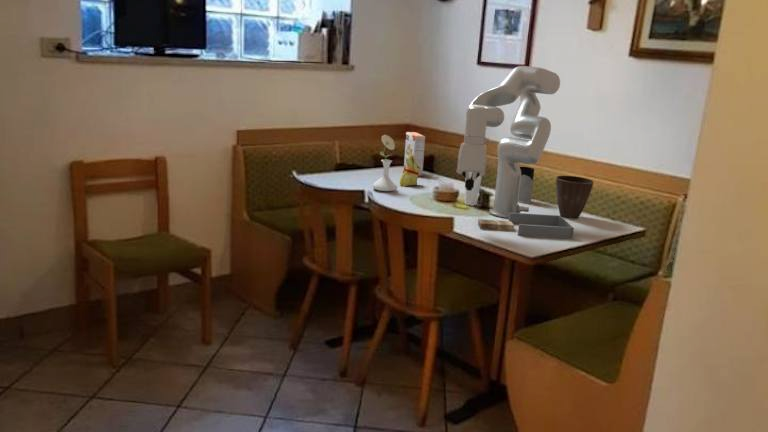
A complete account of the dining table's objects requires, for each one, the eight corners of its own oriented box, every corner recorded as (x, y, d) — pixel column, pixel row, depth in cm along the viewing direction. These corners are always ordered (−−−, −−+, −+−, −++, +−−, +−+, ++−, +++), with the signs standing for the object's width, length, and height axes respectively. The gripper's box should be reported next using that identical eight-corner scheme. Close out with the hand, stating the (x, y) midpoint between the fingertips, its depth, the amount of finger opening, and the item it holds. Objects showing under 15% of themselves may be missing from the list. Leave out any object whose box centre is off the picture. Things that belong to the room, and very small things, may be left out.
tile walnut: (493, 226, 254) (494, 220, 254) (496, 230, 248) (496, 224, 248) (477, 225, 254) (478, 219, 253) (480, 229, 248) (480, 223, 248)
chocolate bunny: (421, 185, 318) (424, 154, 315) (403, 187, 312) (405, 155, 309) (413, 182, 324) (415, 152, 320) (395, 184, 318) (397, 153, 314)
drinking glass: (477, 203, 289) (480, 169, 286) (479, 206, 283) (483, 172, 279) (461, 202, 289) (465, 168, 285) (463, 206, 283) (467, 171, 279)
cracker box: (402, 171, 352) (405, 131, 347) (413, 171, 354) (416, 131, 349) (411, 176, 339) (414, 135, 334) (422, 176, 341) (426, 135, 336)
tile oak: (510, 227, 255) (510, 221, 254) (513, 231, 249) (514, 225, 248) (494, 226, 254) (495, 220, 254) (497, 230, 248) (498, 224, 248)
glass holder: (510, 201, 297) (514, 168, 294) (514, 195, 311) (518, 163, 307) (530, 204, 295) (534, 170, 291) (533, 197, 308) (537, 166, 304)
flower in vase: (401, 192, 299) (405, 137, 293) (377, 193, 295) (381, 137, 289) (390, 186, 311) (394, 133, 305) (367, 187, 307) (370, 133, 301)
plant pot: (573, 211, 286) (578, 175, 282) (595, 220, 272) (601, 182, 268) (544, 212, 280) (549, 175, 276) (565, 222, 267) (570, 183, 263)
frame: (558, 225, 261) (560, 215, 260) (572, 238, 243) (573, 228, 242) (508, 222, 260) (509, 212, 259) (518, 235, 243) (519, 224, 242)
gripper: (492, 141, 247) (487, 189, 251) (452, 137, 246) (447, 186, 250) (496, 143, 239) (490, 193, 244) (455, 140, 239) (450, 190, 243)
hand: (468, 189), depth 247 cm, fingers closed
